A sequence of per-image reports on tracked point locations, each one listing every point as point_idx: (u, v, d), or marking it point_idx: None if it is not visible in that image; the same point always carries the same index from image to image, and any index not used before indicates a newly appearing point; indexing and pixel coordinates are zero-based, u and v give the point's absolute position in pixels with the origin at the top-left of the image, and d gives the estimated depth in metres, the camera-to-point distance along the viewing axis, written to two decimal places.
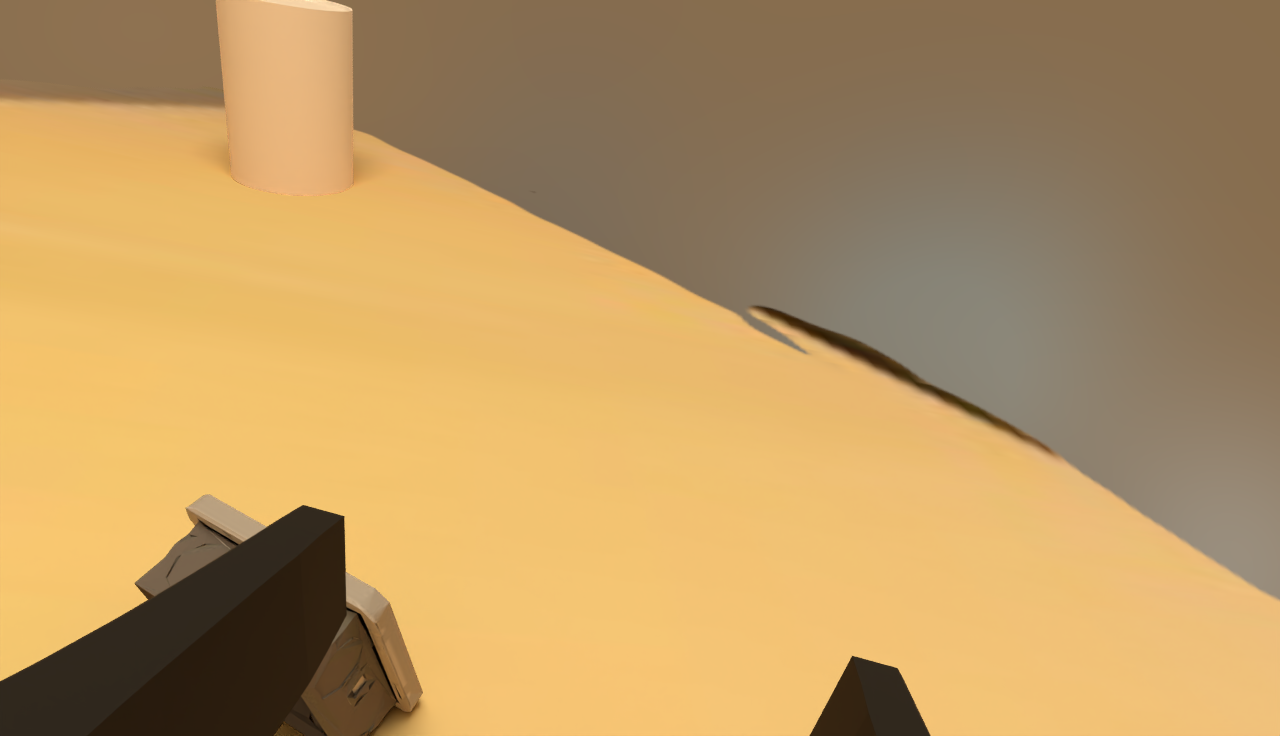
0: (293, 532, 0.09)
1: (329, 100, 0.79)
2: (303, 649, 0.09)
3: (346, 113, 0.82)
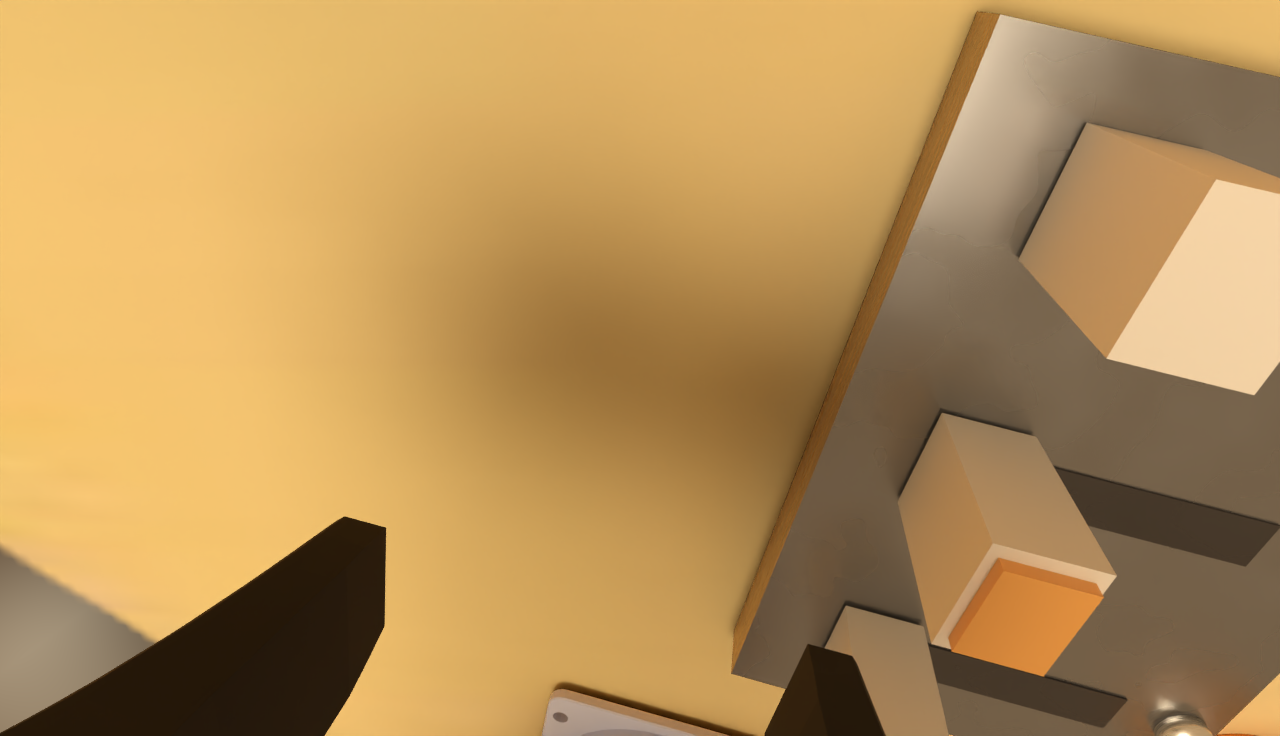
0: (338, 544, 0.09)
1: None
2: (346, 661, 0.09)
3: None
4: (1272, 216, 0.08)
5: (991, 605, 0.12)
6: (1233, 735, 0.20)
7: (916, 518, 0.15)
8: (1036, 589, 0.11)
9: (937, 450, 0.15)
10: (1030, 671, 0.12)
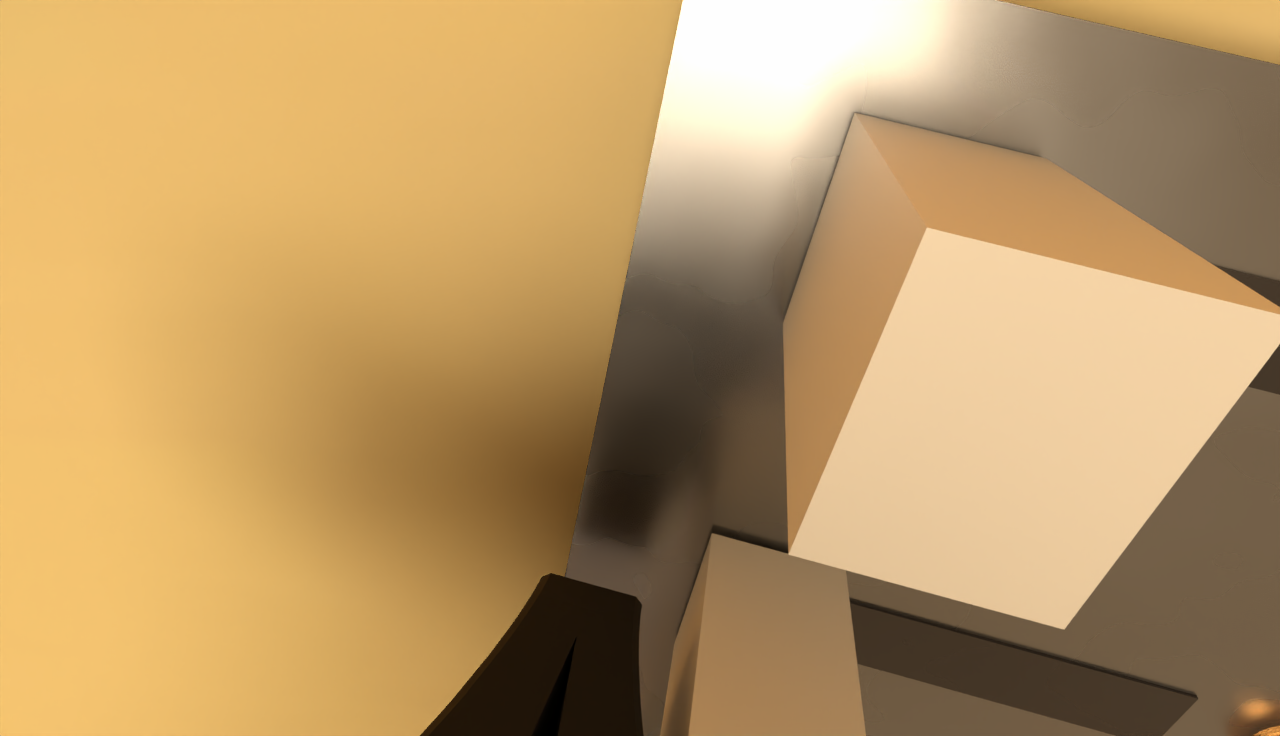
0: (560, 606, 0.09)
1: None
2: (557, 721, 0.09)
3: None
4: (1053, 306, 0.04)
5: None
6: None
7: (673, 686, 0.10)
8: None
9: (698, 590, 0.10)
10: None
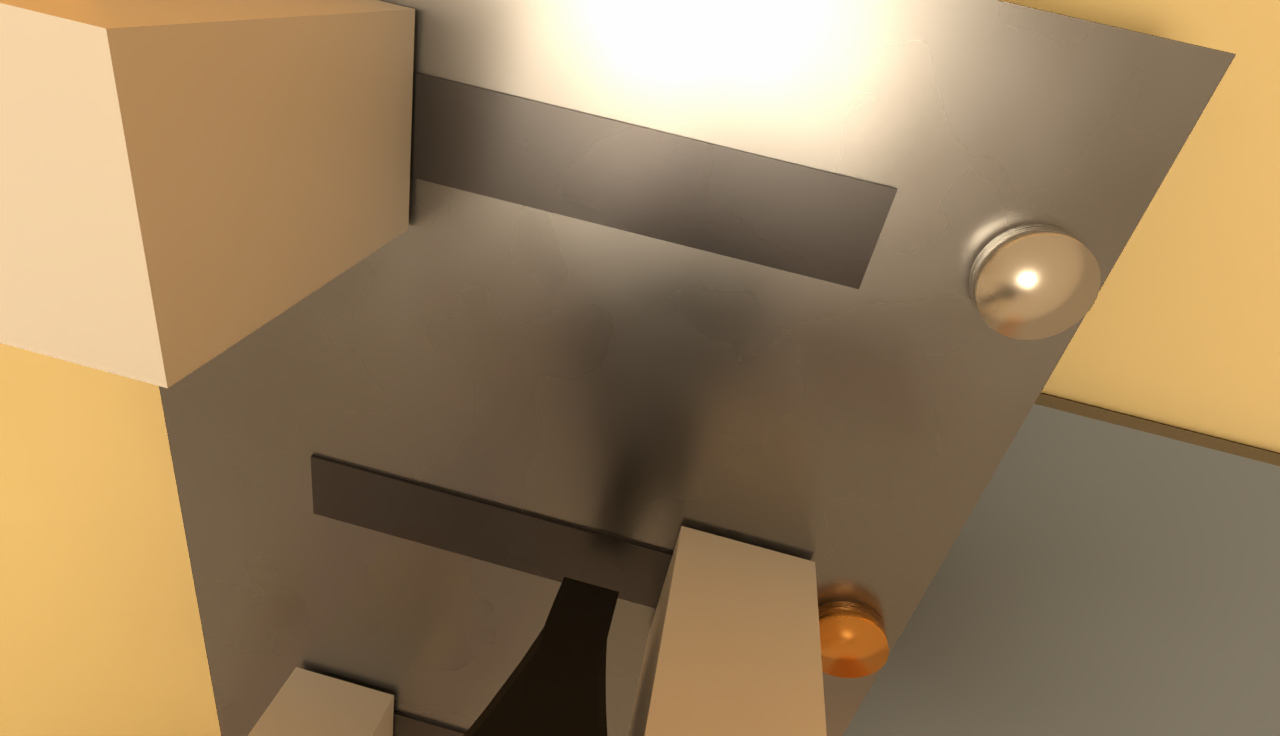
0: (587, 614, 0.09)
1: None
2: None
3: None
4: None
5: None
6: None
7: (642, 679, 0.10)
8: None
9: (667, 582, 0.10)
10: None
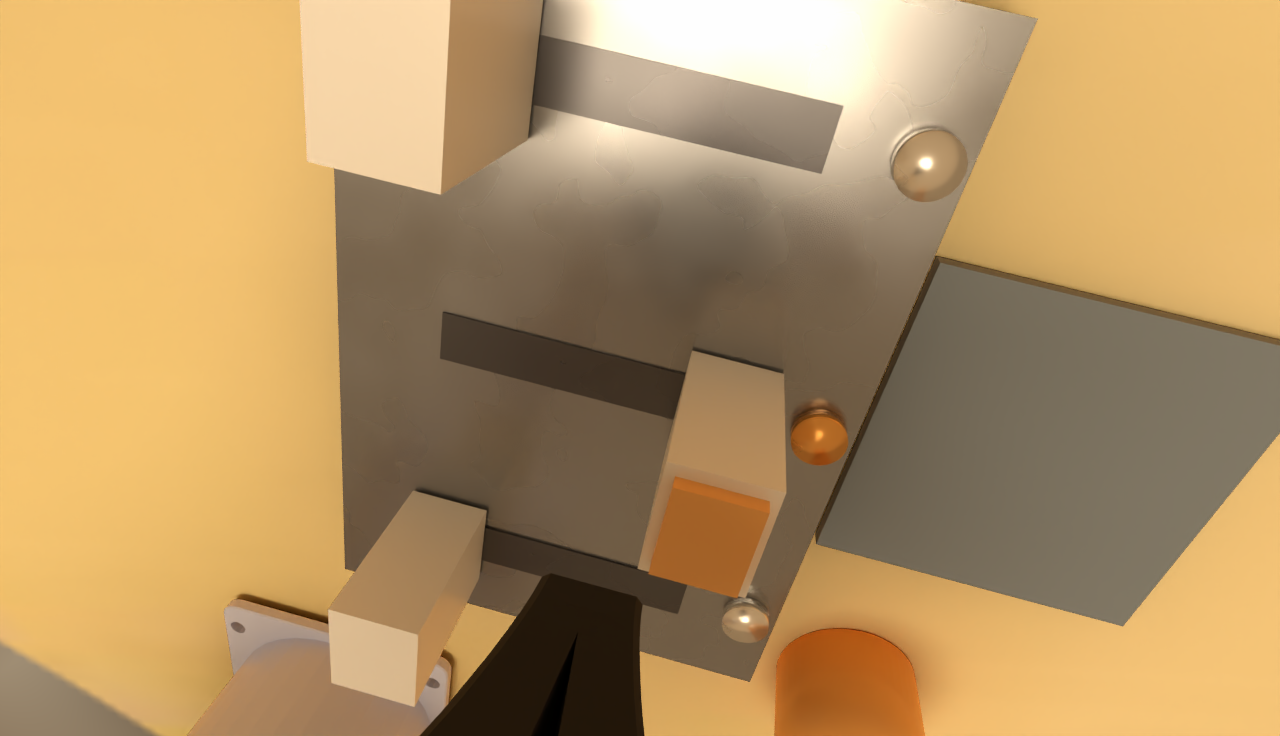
0: (560, 606, 0.09)
1: None
2: (557, 721, 0.09)
3: None
4: (360, 0, 0.09)
5: (671, 524, 0.12)
6: (831, 630, 0.20)
7: (665, 454, 0.15)
8: (707, 506, 0.11)
9: (683, 387, 0.15)
10: (724, 593, 0.12)
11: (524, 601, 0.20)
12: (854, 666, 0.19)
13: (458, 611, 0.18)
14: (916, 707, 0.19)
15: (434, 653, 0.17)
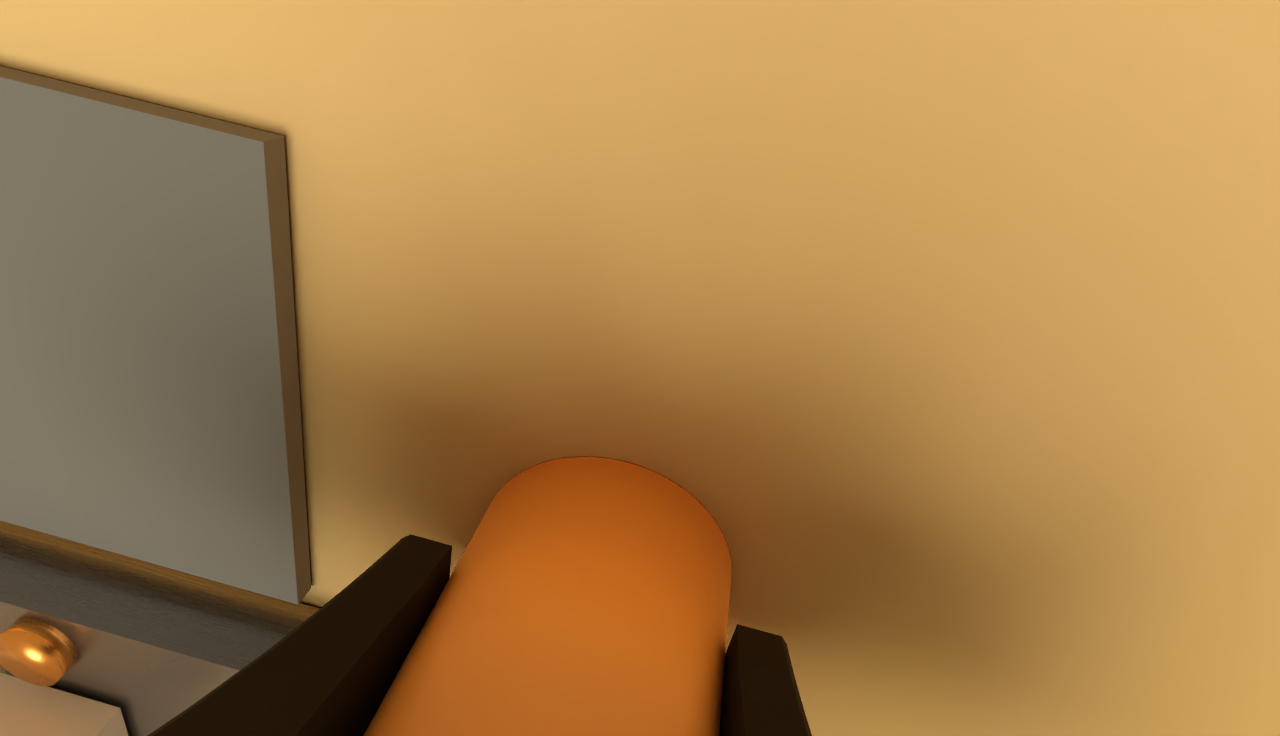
0: (408, 564, 0.09)
1: None
2: None
3: None
4: None
5: None
6: None
7: None
8: None
9: None
10: None
11: None
12: None
13: None
14: (479, 546, 0.09)
15: None
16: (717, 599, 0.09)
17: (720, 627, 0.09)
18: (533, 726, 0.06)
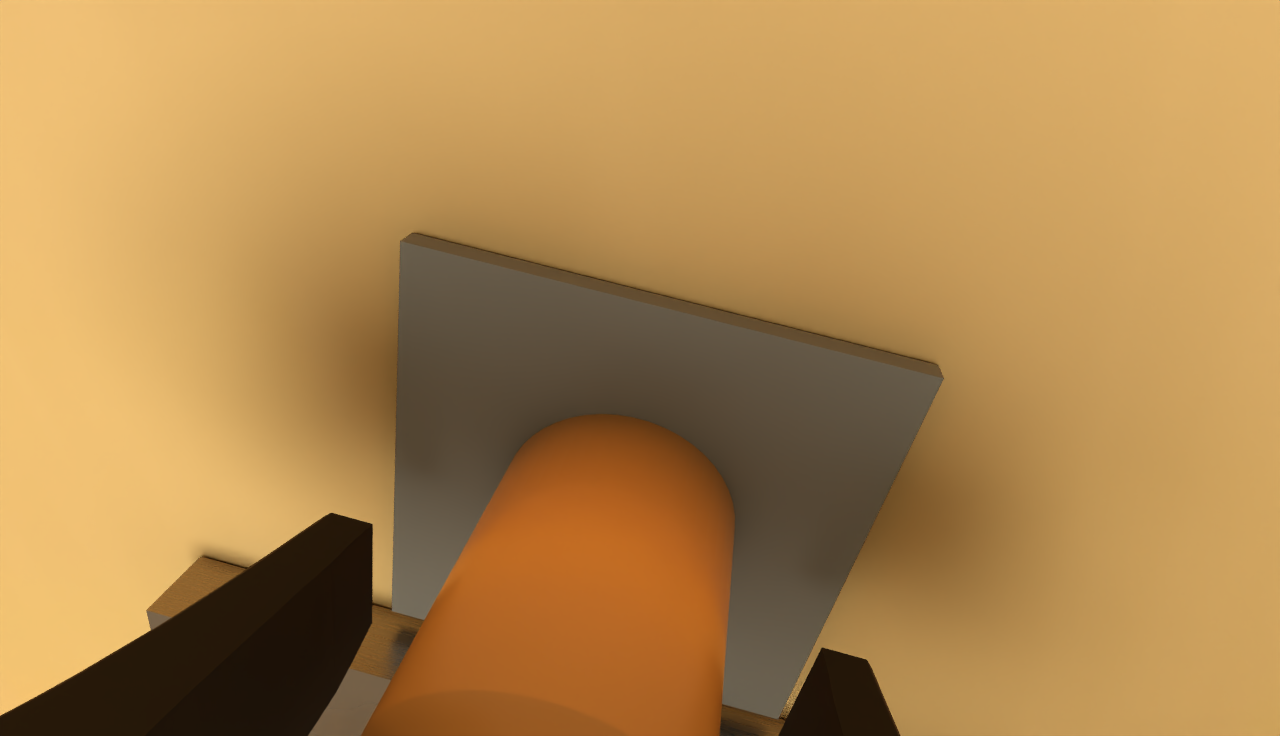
0: (323, 540, 0.09)
1: None
2: (332, 657, 0.09)
3: None
4: None
5: None
6: None
7: None
8: None
9: None
10: None
11: None
12: None
13: None
14: (505, 491, 0.10)
15: None
16: (722, 541, 0.10)
17: (725, 565, 0.10)
18: (564, 628, 0.07)
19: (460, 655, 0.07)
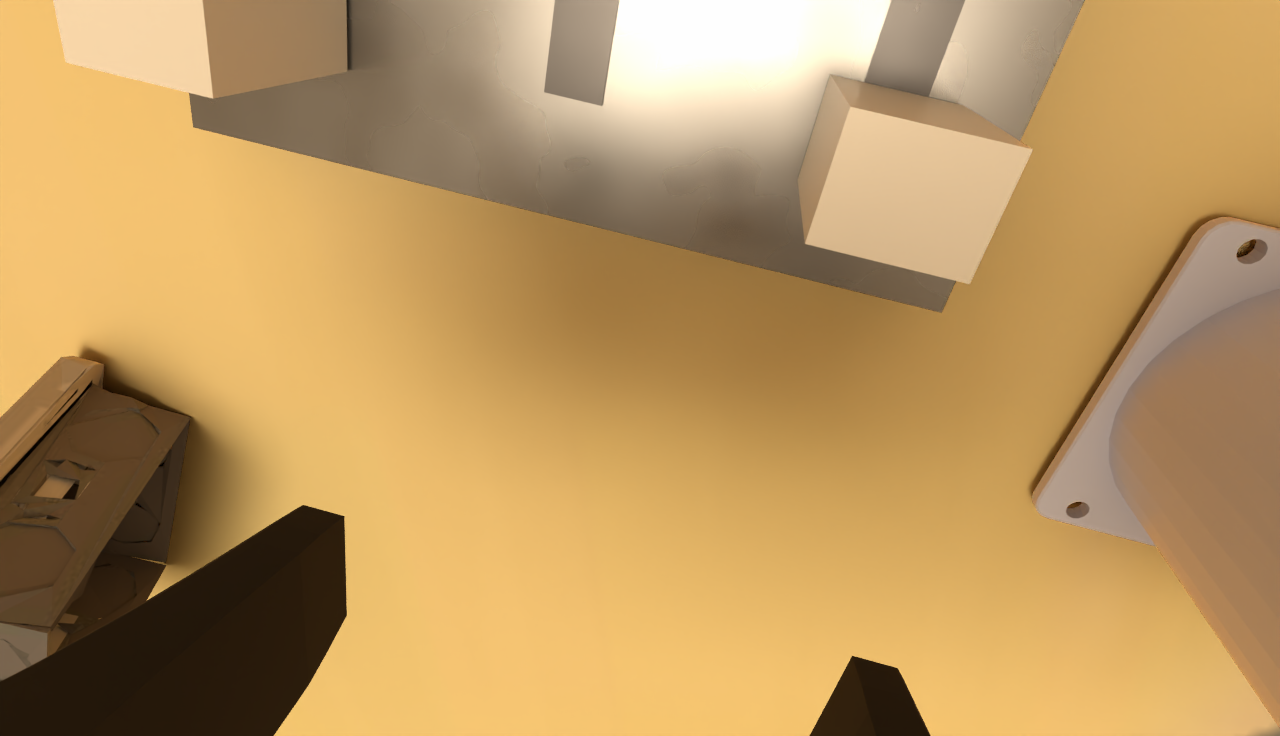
0: (293, 532, 0.09)
1: None
2: (303, 649, 0.09)
3: None
4: (69, 9, 0.11)
5: None
6: None
7: None
8: None
9: None
10: None
11: (1025, 33, 0.12)
12: None
13: (964, 114, 0.12)
14: None
15: (972, 127, 0.10)
16: None
17: None
18: None
19: None
